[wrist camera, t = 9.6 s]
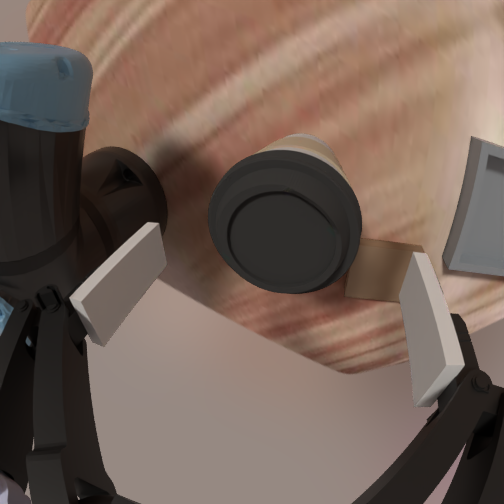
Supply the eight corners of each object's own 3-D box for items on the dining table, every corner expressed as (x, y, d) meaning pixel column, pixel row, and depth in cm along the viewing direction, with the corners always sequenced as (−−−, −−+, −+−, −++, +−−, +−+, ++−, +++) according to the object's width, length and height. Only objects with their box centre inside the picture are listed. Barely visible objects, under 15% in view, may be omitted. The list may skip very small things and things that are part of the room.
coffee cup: (306, 226, 30) (284, 333, 18) (239, 170, 29) (168, 247, 17) (368, 167, 25) (401, 250, 13) (296, 102, 24) (261, 121, 11)
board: (344, 285, 34) (344, 296, 32) (353, 235, 30) (354, 244, 28) (404, 291, 32) (407, 302, 30) (420, 243, 28) (424, 253, 27)
